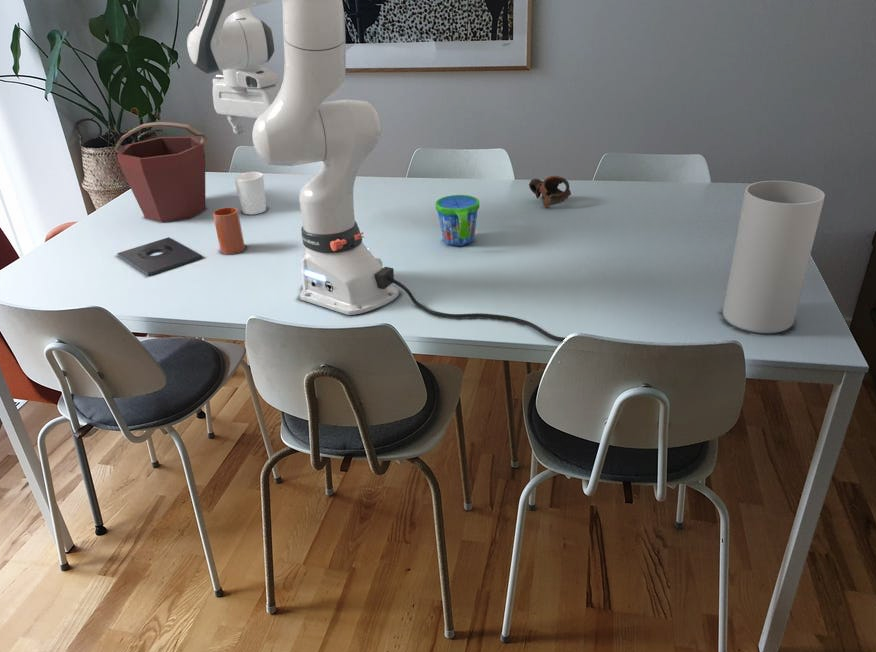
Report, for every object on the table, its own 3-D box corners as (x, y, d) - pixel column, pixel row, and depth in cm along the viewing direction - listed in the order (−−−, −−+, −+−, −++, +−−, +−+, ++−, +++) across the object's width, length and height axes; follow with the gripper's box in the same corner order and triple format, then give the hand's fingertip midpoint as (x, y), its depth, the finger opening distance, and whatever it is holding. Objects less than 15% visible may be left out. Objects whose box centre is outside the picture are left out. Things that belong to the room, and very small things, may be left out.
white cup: (262, 215, 204) (256, 180, 199) (236, 215, 206) (229, 180, 201) (272, 206, 211) (267, 171, 206) (247, 205, 212) (241, 171, 207)
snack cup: (435, 230, 188) (433, 192, 183) (476, 228, 188) (475, 189, 183) (438, 255, 174) (437, 214, 169) (483, 252, 175) (482, 211, 169)
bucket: (230, 199, 218) (213, 113, 205) (199, 227, 199) (178, 133, 186) (154, 199, 222) (133, 114, 209) (116, 225, 204) (91, 134, 191)
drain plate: (202, 258, 180) (201, 255, 180) (148, 276, 173) (147, 273, 172) (169, 239, 192) (168, 237, 192) (117, 256, 185) (116, 253, 184)
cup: (249, 249, 184) (242, 210, 179) (228, 256, 181) (220, 217, 175) (237, 243, 188) (230, 205, 183) (216, 250, 184) (208, 212, 179)
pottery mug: (572, 199, 204) (577, 178, 197) (560, 223, 200) (564, 203, 193) (532, 184, 207) (536, 163, 200) (519, 208, 203) (522, 188, 196)
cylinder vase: (714, 304, 146) (736, 181, 133) (780, 304, 145) (809, 180, 132) (732, 335, 136) (757, 204, 123) (803, 335, 134) (836, 203, 121)
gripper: (202, 75, 176) (213, 134, 183) (264, 81, 166) (273, 142, 173) (221, 71, 180) (231, 128, 188) (283, 75, 170) (291, 136, 178)
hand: (252, 135), depth 180 cm, fingers open, 8 cm apart
